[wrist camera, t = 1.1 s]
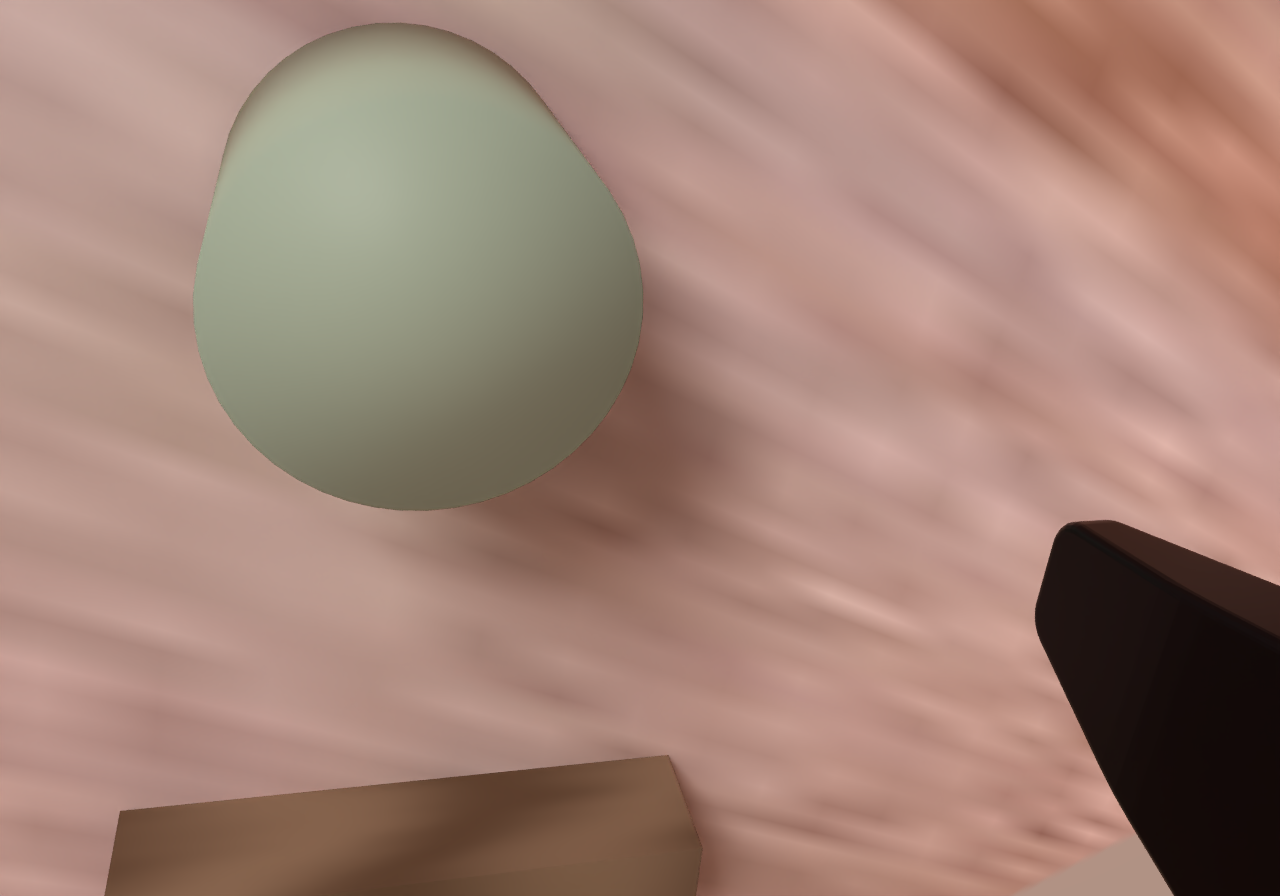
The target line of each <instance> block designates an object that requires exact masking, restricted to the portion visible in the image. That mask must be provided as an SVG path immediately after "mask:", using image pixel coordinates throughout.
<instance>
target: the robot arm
mask: <svg viewBox="0 0 1280 896" xmlns="http://www.w3.org/2000/svg"><path fill="white" fill-rule="evenodd" d="M1035 624H1036V629H1037V633H1038V636H1039V639H1040V641H1041V644H1042V646H1043V648H1044V650H1045V652H1046V654H1047V656H1048V658H1049V660H1050V663H1051V665H1052V667H1053V669H1054V671H1055V673H1056V675H1057V677H1058V680H1059V682H1060V684H1061V686H1062V688H1063V690H1064V692H1065V694H1066V697H1067V699H1068V701H1069V703H1070V705H1071V707H1072V709H1073V711H1074V713H1075V716H1076V718H1077V720H1078V722H1079V724H1080V726H1081V728H1082V730H1083V733H1084V735H1085V737H1086V739H1087V741H1088V743H1089V745H1090V747H1091V749H1092V752H1093V754H1094V756H1095V758H1096V760H1097V762H1098V764H1099V766H1100V768H1101V770H1102V772H1103V774H1104V776H1105V778H1106V780H1107V782H1108V784H1109V786H1110V788H1111V790H1112V792H1113V794H1114V796H1115V798H1116V799H1117V801H1118V803H1119V805H1120V806H1121V808H1122V810H1123V812H1124V813H1125V815H1126V817H1127V819H1128V820H1129V822H1130V824H1131V825H1132V827H1133V829H1134V830H1135V832H1136V834H1137V835H1138V837H1139V839H1140V840H1141V842H1142V843H1143V845H1144V847H1145V849H1146V850H1147V852H1148V853H1149V855H1150V857H1151V858H1152V860H1153V862H1154V863H1155V865H1156V867H1157V868H1158V870H1159V872H1160V873H1161V875H1162V877H1163V878H1164V880H1165V882H1166V883H1167V885H1168V887H1169V888H1170V890H1171V891H1172V893H1173V895H1174V896H1280V586H1279V585H1276V584H1274V583H1271V582H1268V581H1266V580H1263V579H1261V578H1258V577H1256V576H1253V575H1251V574H1248V573H1246V572H1243V571H1241V570H1238V569H1236V568H1233V567H1231V566H1228V565H1226V564H1223V563H1221V562H1218V561H1216V560H1213V559H1211V558H1208V557H1206V556H1203V555H1201V554H1198V553H1196V552H1193V551H1190V550H1188V549H1185V548H1183V547H1180V546H1178V545H1175V544H1173V543H1170V542H1168V541H1165V540H1163V539H1160V538H1158V537H1155V536H1153V535H1150V534H1148V533H1145V532H1143V531H1140V530H1138V529H1135V528H1133V527H1130V526H1128V525H1125V524H1123V523H1120V522H1117V521H1112V520H1097V521H1080V522H1071V523H1068V524H1066V525H1065V526H1063V527H1062V528H1061V529H1060V530H1059V532H1058V533H1057V535H1056V537H1055V539H1054V542H1053V546H1052V549H1051V553H1050V556H1049V560H1048V563H1047V567H1046V571H1045V574H1044V578H1043V581H1042V585H1041V588H1040V592H1039V596H1038V599H1037V603H1036V608H1035Z"/></svg>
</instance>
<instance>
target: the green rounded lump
mask: <svg viewBox="0 0 1280 896" xmlns="http://www.w3.org/2000/svg"><path fill="white" fill-rule="evenodd" d="M193 307H194V327H195V333H196V339H197V345H198V350H199V354H200V357H201V360H202V363H203V366H204V369H205V372H206V375H207V378H208V380H209V382H210V384H211V386H212V388H213V390H214V392H215V394H216V396H217V398H218V401H219V403H220V404H221V405H222V407H223V408H224V410H225V411H226V413H227V414H228V416H229V417H230V419H231V420H232V422H233V423H234V425H235V426H236V427H237V428H238V429H239V431H240V432H241V433H242V434H243V435H244V436H245V437H246V438H247V440H248V441H249V442H250V443H251V444H252V445H253V446H254V447H255V448H256V449H257V450H258V451H260V452H261V453H262V454H263V455H264V456H265V457H267V458H268V459H269V460H270V461H271V462H272V463H274V464H275V465H276V466H278V467H279V468H281V469H282V470H284V471H285V472H287V473H288V474H290V475H291V476H293V477H294V478H296V479H297V480H299V481H301V482H303V483H305V484H307V485H309V486H311V487H313V488H315V489H317V490H319V491H321V492H324V493H327V494H330V495H332V496H335V497H338V498H341V499H343V500H346V501H350V502H354V503H358V504H362V505H367V506H371V507H376V508H385V509H393V510H415V511H429V510H438V509H448V508H456V507H461V506H465V505H470V504H474V503H479V502H483V501H486V500H489V499H491V498H494V497H497V496H500V495H503V494H506V493H508V492H511V491H513V490H515V489H517V488H519V487H521V486H523V485H525V484H528V483H530V482H531V481H533V480H535V479H536V478H538V477H540V476H541V475H543V474H544V473H546V472H548V471H549V470H551V469H553V468H554V467H555V466H556V465H558V464H559V463H560V462H561V461H563V460H564V459H565V458H567V457H568V456H569V455H570V454H572V453H573V452H574V451H575V450H576V449H577V448H578V447H579V446H580V445H581V444H582V443H583V442H584V441H585V440H586V439H587V438H588V437H589V436H590V435H591V434H592V433H593V432H594V430H595V429H596V428H597V426H598V425H599V424H600V423H601V421H602V420H603V419H604V417H605V416H606V415H607V414H608V412H609V410H610V409H611V407H612V405H613V404H614V402H615V400H616V399H617V397H618V395H619V394H620V392H621V390H622V388H623V386H624V383H625V381H626V379H627V377H628V374H629V372H630V370H631V367H632V364H633V360H634V357H635V354H636V350H637V347H638V343H639V337H640V331H641V324H642V318H643V286H642V278H641V269H640V263H639V259H638V256H637V252H636V248H635V244H634V240H633V237H632V235H631V233H630V230H629V228H628V225H627V223H626V221H625V218H624V216H623V214H622V212H621V210H620V209H619V207H618V205H617V203H616V202H615V200H614V198H613V197H612V195H611V193H610V192H609V190H608V189H607V187H606V186H605V184H604V183H603V182H602V180H601V179H600V178H599V176H598V175H597V174H596V172H595V171H594V170H593V168H592V167H591V165H590V164H589V163H588V161H587V160H586V159H585V157H584V156H583V155H582V153H581V152H580V150H579V149H578V148H577V146H576V145H575V144H574V142H573V141H572V140H571V138H570V137H569V136H568V134H567V133H566V131H565V130H564V129H563V127H562V126H561V125H560V123H559V122H558V121H557V119H556V118H555V116H554V115H553V114H552V112H551V111H550V110H549V108H548V107H547V106H546V104H545V103H544V102H543V100H542V99H541V98H540V96H539V95H538V94H537V93H536V91H535V90H534V89H533V88H532V86H531V85H530V84H529V83H528V82H527V81H526V80H525V79H524V78H523V77H522V76H521V75H520V74H519V73H518V72H517V71H516V70H515V69H514V68H513V67H512V66H511V65H509V64H508V63H507V62H505V61H504V60H503V59H501V58H500V57H499V56H497V55H496V54H495V53H493V52H492V51H490V50H488V49H486V48H484V47H483V46H481V45H479V44H477V43H475V42H474V41H472V40H469V39H467V38H464V37H462V36H459V35H457V34H454V33H452V32H449V31H445V30H441V29H437V28H433V27H429V26H425V25H416V24H407V23H375V24H368V25H362V26H356V27H351V28H347V29H344V30H341V31H337V32H334V33H331V34H328V35H326V36H323V37H321V38H319V39H317V40H315V41H313V42H310V43H308V44H306V45H304V46H303V47H301V48H300V49H298V50H297V51H295V52H294V53H292V54H291V55H289V56H287V57H286V58H285V59H284V60H282V61H281V62H280V63H279V64H278V65H277V66H275V67H274V68H273V69H272V70H271V71H270V72H269V73H267V75H266V76H265V77H264V78H263V79H262V80H261V82H260V83H259V84H258V85H257V86H256V87H255V89H254V90H253V91H252V92H251V94H250V95H249V97H248V98H247V100H246V102H245V103H244V105H243V106H242V108H241V109H240V111H239V113H238V115H237V117H236V120H235V122H234V124H233V126H232V128H231V131H230V133H229V136H228V140H227V143H226V147H225V150H224V154H223V158H222V162H221V166H220V170H219V175H218V179H217V183H216V187H215V192H214V196H213V200H212V204H211V208H210V213H209V217H208V221H207V225H206V230H205V234H204V238H203V242H202V247H201V251H200V255H199V259H198V263H197V269H196V277H195V285H194V292H193Z"/></svg>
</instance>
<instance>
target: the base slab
mask: <svg viewBox="0 0 1280 896" xmlns="http://www.w3.org/2000/svg"><path fill="white" fill-rule="evenodd" d="M701 855H702V846H701V843H700V840H699V838H698V835H697V832H696V830H695V827H694V824H693V821H692V819H691V816H690V813H689V811H688V808H687V805H686V802H685V800H684V797H683V794H682V792H681V789H680V786H679V783H678V781H677V778H676V775H675V773H674V770H673V767H672V764H671V762H670V759H669V756H668V755H665V756H655V757H645V758H635V759H626V760H616V761H606V762H596V763H586V764H577V765H567V766H557V767H547V768H537V769H528V770H518V771H508V772H498V773H489V774H479V775H469V776H459V777H449V778H440V779H430V780H420V781H410V782H400V783H391V784H381V785H371V786H361V787H351V788H342V789H332V790H322V791H312V792H303V793H293V794H283V795H273V796H263V797H254V798H244V799H234V800H224V801H214V802H205V803H195V804H185V805H175V806H165V807H156V808H146V809H136V810H126V811H120V815H119V820H118V825H117V831H116V836H115V842H114V847H113V852H112V858H111V863H110V869H109V874H108V880H107V885H106V890H105V896H696V890H697V883H698V876H699V869H700V862H701Z"/></svg>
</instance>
